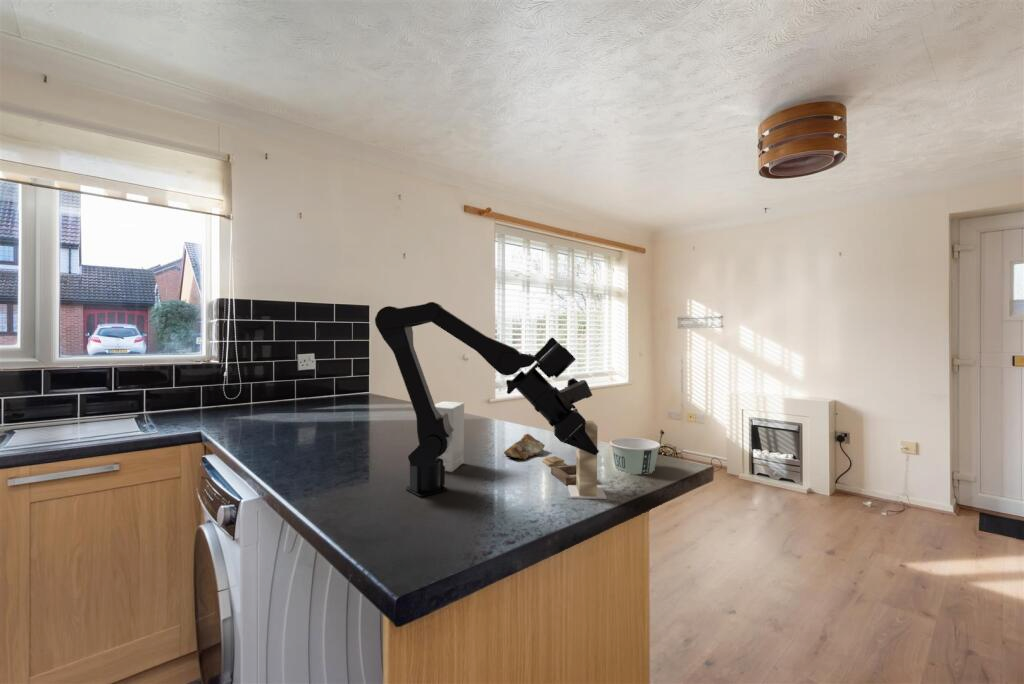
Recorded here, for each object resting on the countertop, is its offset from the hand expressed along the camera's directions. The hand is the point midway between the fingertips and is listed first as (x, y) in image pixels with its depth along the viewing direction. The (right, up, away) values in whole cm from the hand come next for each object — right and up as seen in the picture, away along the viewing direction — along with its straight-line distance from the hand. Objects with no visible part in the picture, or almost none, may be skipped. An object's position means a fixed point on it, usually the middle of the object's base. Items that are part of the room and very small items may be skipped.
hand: (593, 447), depth 96 cm
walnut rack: (-3, -9, +10) cm, 14 cm away
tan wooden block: (-2, -9, 0) cm, 9 cm away
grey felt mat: (-2, -9, 0) cm, 9 cm away
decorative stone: (-14, -9, +31) cm, 35 cm away
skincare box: (-33, -9, +19) cm, 39 cm away
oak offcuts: (-6, -9, +22) cm, 25 cm away
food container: (+13, -9, +18) cm, 24 cm away
